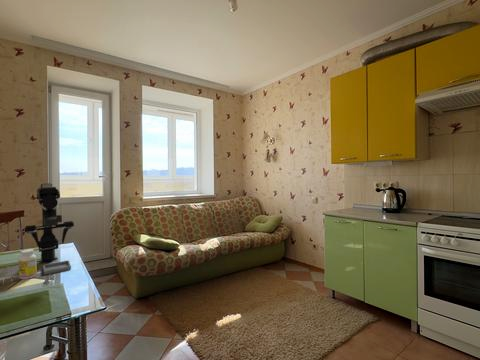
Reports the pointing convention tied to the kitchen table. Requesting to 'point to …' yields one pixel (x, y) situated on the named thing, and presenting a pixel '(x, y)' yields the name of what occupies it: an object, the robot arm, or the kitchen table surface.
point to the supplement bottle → (27, 264)
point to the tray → (56, 267)
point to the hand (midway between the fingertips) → (51, 245)
